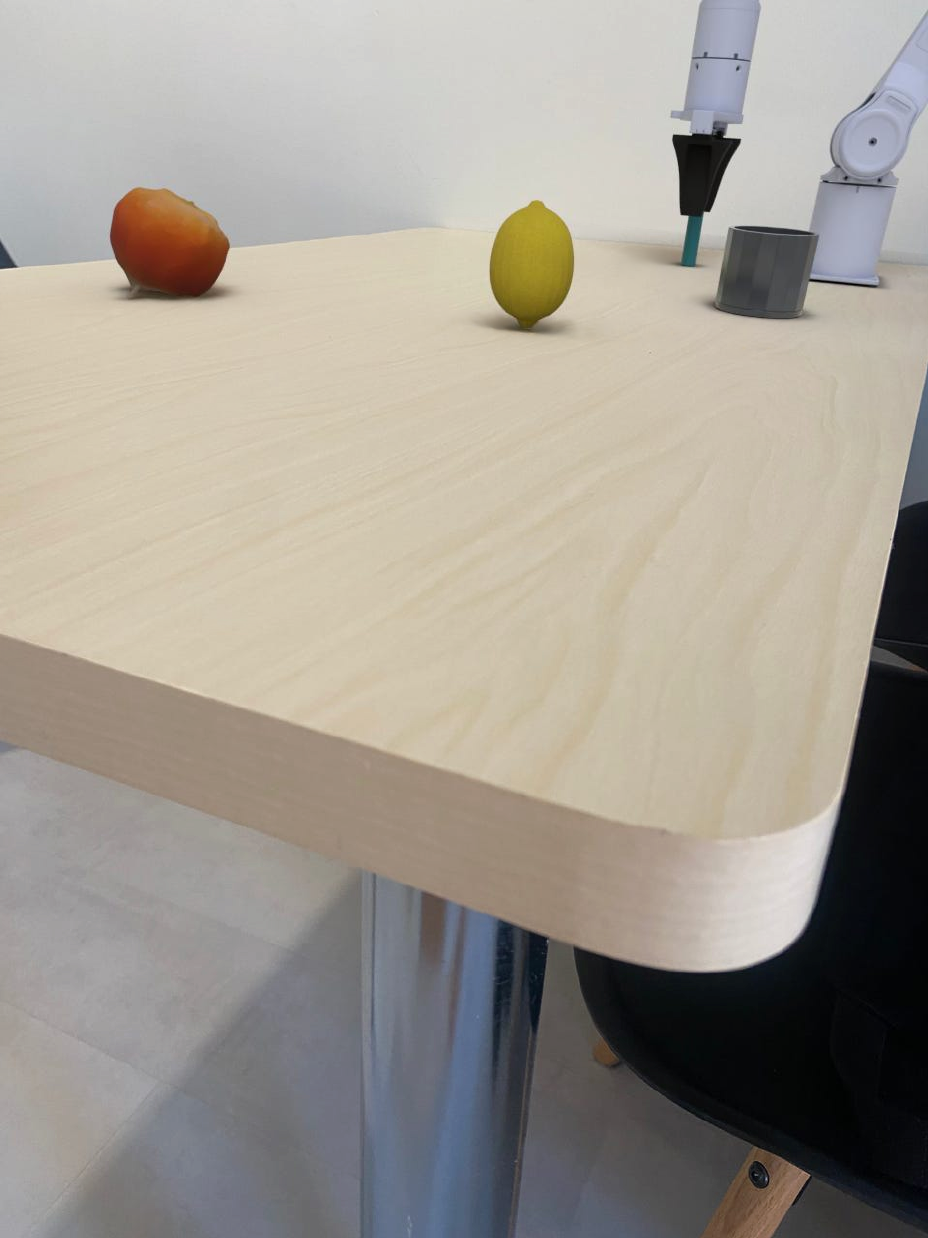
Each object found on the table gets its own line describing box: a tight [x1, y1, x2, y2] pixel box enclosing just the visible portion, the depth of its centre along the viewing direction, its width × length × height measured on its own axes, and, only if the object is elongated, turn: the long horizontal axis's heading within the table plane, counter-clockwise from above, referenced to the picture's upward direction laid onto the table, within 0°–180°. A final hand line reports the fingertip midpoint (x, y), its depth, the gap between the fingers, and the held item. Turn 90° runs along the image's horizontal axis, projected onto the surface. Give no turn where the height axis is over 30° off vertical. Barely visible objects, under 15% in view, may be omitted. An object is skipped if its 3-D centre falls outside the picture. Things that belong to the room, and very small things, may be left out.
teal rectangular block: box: [680, 212, 705, 267], centre depth 95 cm, size 2×2×8 cm
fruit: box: [109, 186, 231, 299], centre depth 65 cm, size 8×8×8 cm
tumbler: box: [714, 224, 819, 319], centre depth 72 cm, size 7×7×6 cm
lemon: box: [489, 199, 575, 330], centre depth 60 cm, size 6×6×8 cm
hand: (695, 213), depth 94 cm, fingers open, 7 cm apart
